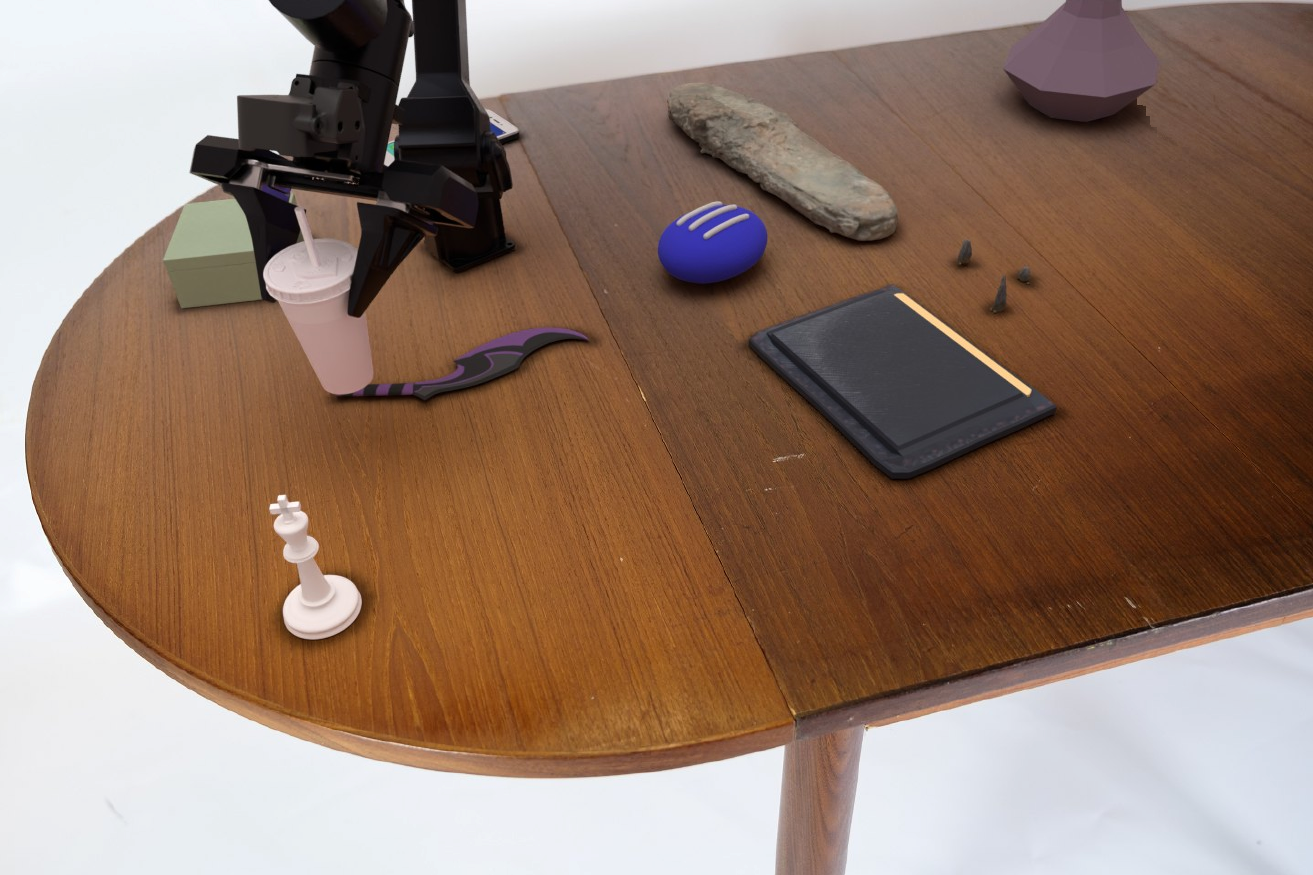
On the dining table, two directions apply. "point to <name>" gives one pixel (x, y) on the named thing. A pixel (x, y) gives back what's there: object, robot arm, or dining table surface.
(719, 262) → the decorative object
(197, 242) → the green box
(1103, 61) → the flask
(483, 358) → the knife
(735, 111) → the long grey stone
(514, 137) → the smartphone
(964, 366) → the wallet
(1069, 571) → the dining table surface
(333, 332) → the smoothie
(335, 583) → the chess piece
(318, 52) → the robot arm
